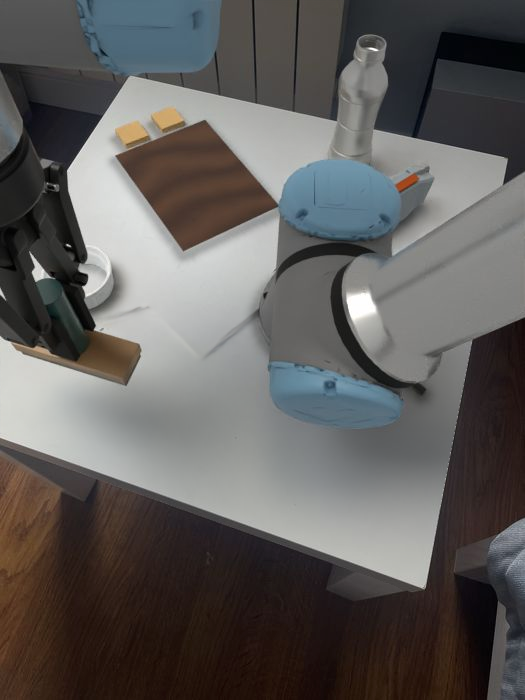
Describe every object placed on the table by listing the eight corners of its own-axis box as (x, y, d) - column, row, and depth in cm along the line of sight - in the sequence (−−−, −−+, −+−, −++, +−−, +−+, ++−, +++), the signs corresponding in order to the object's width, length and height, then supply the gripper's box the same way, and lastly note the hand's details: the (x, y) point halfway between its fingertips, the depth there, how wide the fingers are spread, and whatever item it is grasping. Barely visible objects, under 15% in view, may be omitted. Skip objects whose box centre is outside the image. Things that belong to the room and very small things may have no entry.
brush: (127, 388, 54) (100, 330, 44) (19, 355, 55) (-31, 290, 45) (143, 355, 55) (121, 291, 45) (39, 323, 57) (-6, 255, 47)
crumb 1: (150, 145, 86) (148, 134, 84) (128, 154, 85) (125, 144, 83) (139, 130, 87) (137, 120, 86) (117, 139, 86) (114, 128, 84)
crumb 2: (185, 130, 87) (184, 120, 86) (163, 139, 86) (161, 129, 85) (174, 116, 89) (172, 106, 87) (152, 125, 88) (150, 114, 86)
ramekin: (51, 323, 70) (40, 304, 66) (50, 268, 74) (40, 248, 70) (120, 312, 71) (113, 293, 67) (116, 259, 75) (109, 239, 71)
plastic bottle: (373, 179, 83) (406, 55, 65) (332, 186, 82) (354, 62, 65) (360, 150, 86) (388, 24, 68) (320, 157, 85) (338, 31, 68)
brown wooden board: (279, 211, 80) (279, 205, 78) (184, 256, 75) (183, 251, 74) (205, 125, 88) (204, 119, 87) (116, 161, 84) (114, 155, 83)
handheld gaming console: (412, 195, 82) (427, 153, 75) (426, 207, 80) (443, 165, 73) (341, 239, 77) (350, 199, 70) (355, 252, 76) (366, 213, 69)
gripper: (-23, 52, 36) (76, 267, 56) (-186, 224, 28) (-4, 400, 49) (79, 75, 35) (142, 286, 56) (-62, 260, 28) (71, 423, 48)
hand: (73, 339), depth 52 cm, fingers closed on brush, 3 cm apart
